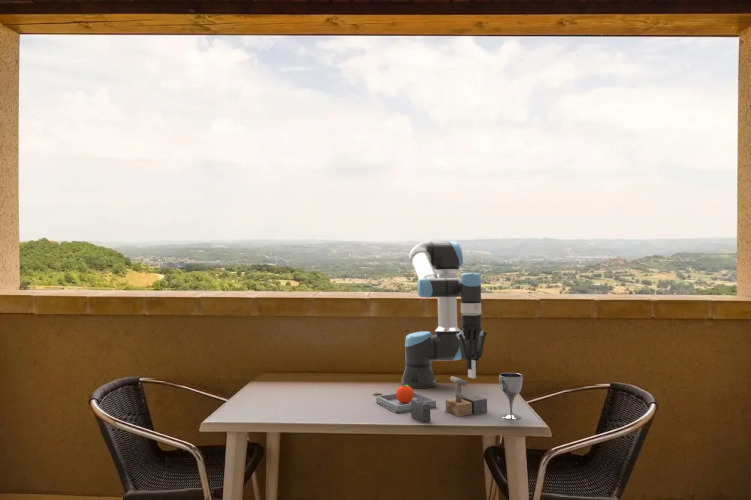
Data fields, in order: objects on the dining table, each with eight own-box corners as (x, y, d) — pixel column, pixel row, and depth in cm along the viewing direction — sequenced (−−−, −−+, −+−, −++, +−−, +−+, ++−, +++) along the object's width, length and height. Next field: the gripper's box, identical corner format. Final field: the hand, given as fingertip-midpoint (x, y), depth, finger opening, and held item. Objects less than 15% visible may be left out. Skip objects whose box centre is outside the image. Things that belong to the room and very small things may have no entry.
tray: (376, 402, 215) (376, 396, 215) (413, 397, 223) (412, 390, 223) (397, 413, 200) (397, 406, 200) (436, 407, 208) (436, 400, 208)
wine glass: (496, 413, 198) (496, 372, 198) (518, 413, 199) (517, 372, 199) (503, 420, 190) (503, 377, 191) (526, 419, 191) (525, 376, 191)
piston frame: (410, 416, 196) (410, 399, 196) (472, 406, 208) (471, 390, 208) (424, 423, 188) (423, 405, 188) (487, 412, 200) (487, 396, 200)
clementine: (406, 399, 217) (405, 381, 217) (419, 402, 212) (419, 384, 212) (392, 403, 211) (392, 385, 211) (405, 406, 206) (405, 388, 206)
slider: (445, 410, 202) (445, 377, 202) (459, 408, 205) (458, 375, 205) (458, 416, 195) (458, 381, 195) (472, 413, 198) (471, 379, 198)
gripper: (462, 315, 197) (463, 381, 196) (491, 314, 203) (492, 377, 202) (450, 314, 204) (451, 377, 203) (478, 312, 209) (479, 374, 209)
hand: (471, 377), depth 203 cm, fingers closed
